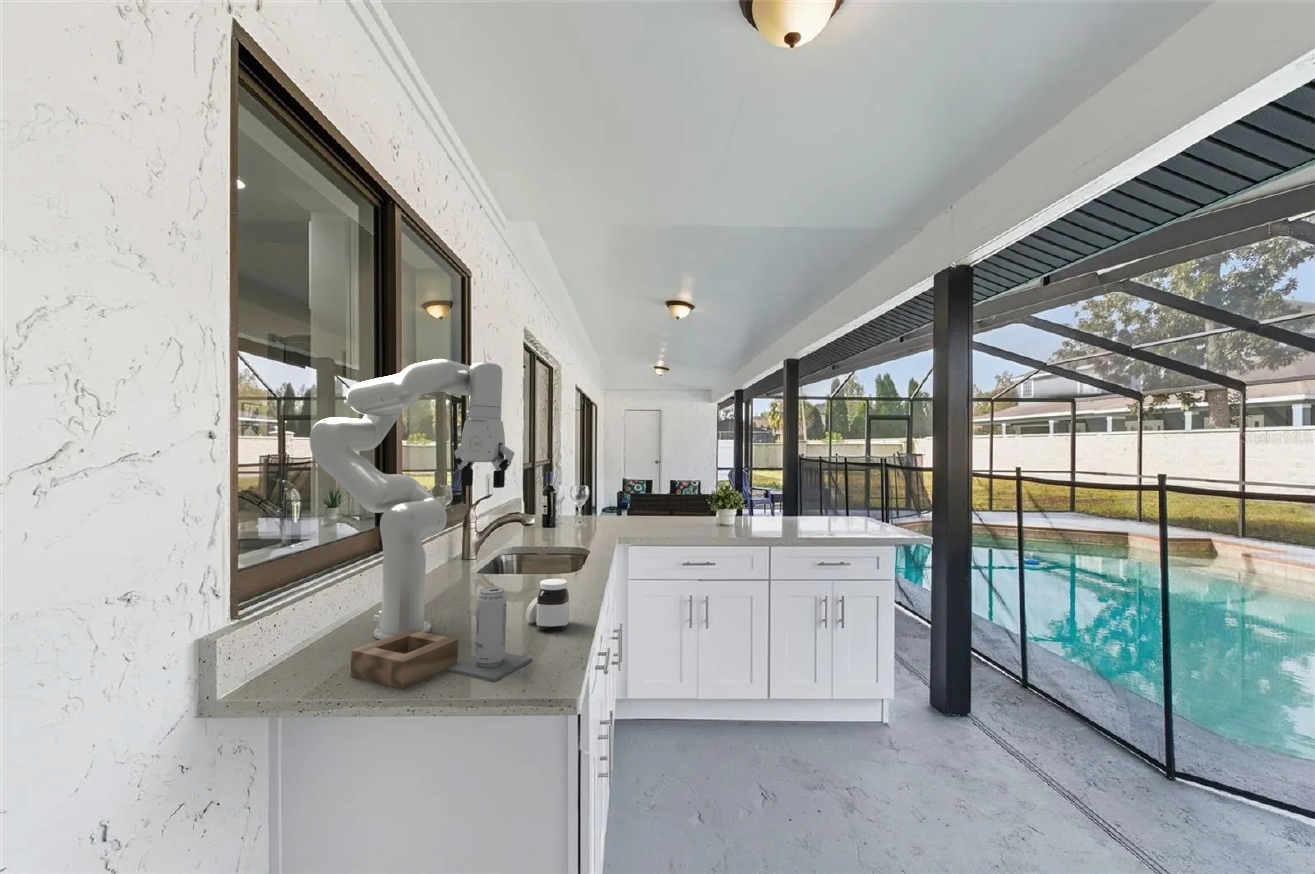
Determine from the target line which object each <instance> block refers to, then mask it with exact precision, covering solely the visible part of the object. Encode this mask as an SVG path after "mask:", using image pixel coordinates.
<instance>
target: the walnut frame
mask: <svg viewBox="0 0 1315 874" xmlns="http://www.w3.org/2000/svg"><path fill="white" fill-rule="evenodd" d="M350 655H351V656H350V677H354V678H358V679H362V680H365V681H370V682H373V683H377V684H380V685H384V686H388V687H393V688H396V689H400V690H404V689H406V688H408V687H411V686H412V685H414V684H417V683H419V682H421V681H423V680H425V679H427V678H429V677H431V676H434V675H435V674H439V673H440V672H442V671H444V670H447V668H448V667H450V666H452V665H454V664H457V663H459V662H458V661H459V638H456V637H450V636H445V635H439V634H432V633H429V632H428V633H424V632H419V631H414V630H407V631H404V632H401V633H399V634H396V635H393V636H390V637H387V638H384V639H382V640H380V639H378V640H376V641H374V642H370V643H367V644H365V645H362V646H360V647H356V648H353V649H351V652H350Z"/></svg>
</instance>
